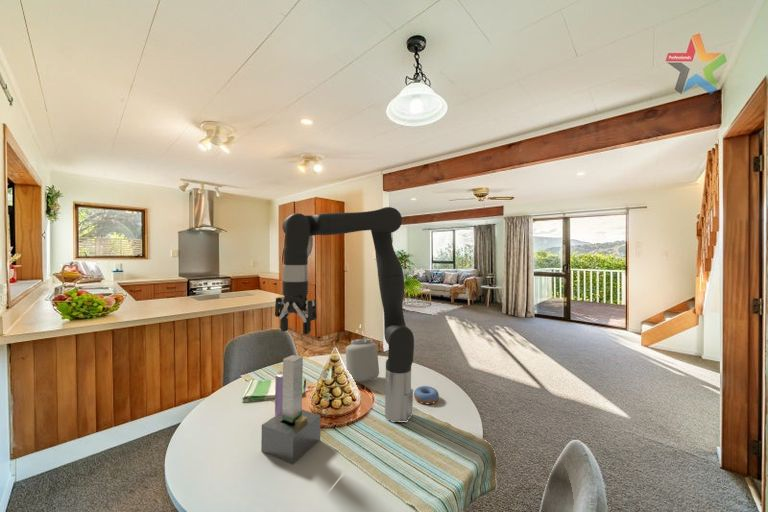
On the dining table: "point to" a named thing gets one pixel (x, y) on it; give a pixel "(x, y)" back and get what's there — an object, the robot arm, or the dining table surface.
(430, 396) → the doughnut
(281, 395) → the beverage can
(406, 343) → the robot arm
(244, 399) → the dish towel
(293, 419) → the column
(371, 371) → the jar
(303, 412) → the base
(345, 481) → the dining table surface
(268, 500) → the dining table surface
